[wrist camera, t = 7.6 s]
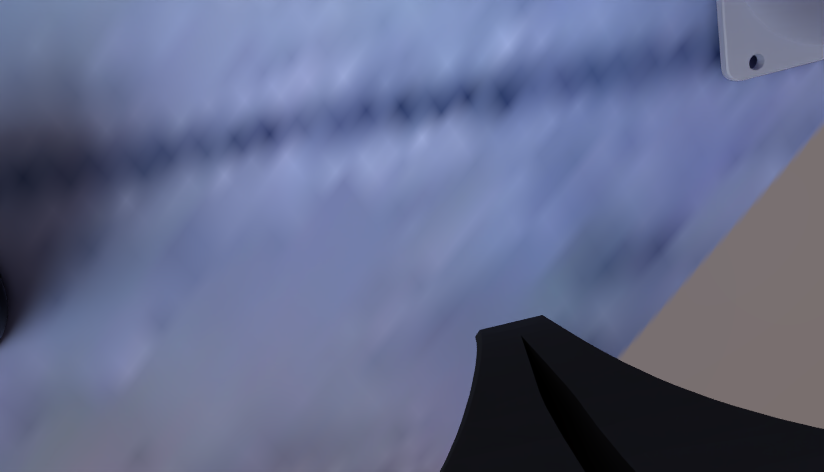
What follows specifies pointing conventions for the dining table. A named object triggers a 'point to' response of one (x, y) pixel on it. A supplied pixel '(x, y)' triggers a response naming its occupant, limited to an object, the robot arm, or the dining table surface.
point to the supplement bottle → (3, 308)
